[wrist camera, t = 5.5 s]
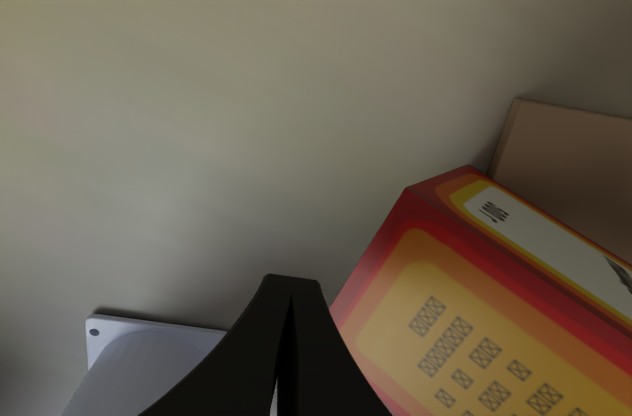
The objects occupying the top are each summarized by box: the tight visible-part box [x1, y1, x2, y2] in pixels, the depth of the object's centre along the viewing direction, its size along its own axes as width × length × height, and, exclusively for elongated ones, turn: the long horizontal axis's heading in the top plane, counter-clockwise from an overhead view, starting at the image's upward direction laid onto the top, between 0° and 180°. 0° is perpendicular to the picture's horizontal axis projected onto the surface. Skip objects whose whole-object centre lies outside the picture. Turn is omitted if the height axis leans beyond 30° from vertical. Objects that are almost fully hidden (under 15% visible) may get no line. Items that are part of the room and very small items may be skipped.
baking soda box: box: [329, 164, 632, 416], centre depth 15 cm, size 10×6×16 cm
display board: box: [487, 98, 632, 265], centre depth 21 cm, size 10×14×1 cm
